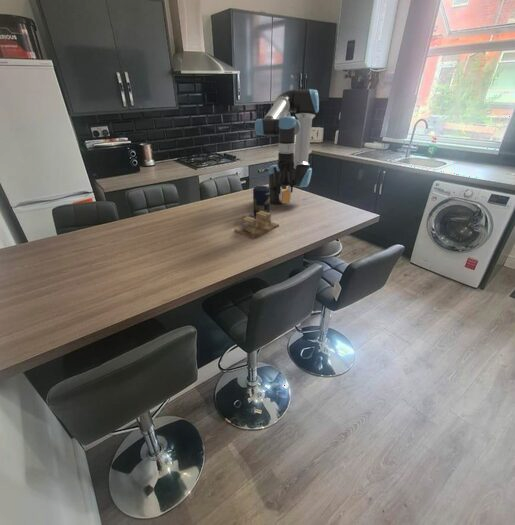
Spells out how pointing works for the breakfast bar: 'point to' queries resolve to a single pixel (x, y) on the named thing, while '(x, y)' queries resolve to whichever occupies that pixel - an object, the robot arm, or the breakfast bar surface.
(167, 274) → the breakfast bar surface
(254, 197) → the canister
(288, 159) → the robot arm
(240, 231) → the shaft bench
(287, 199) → the orange rectangular block
